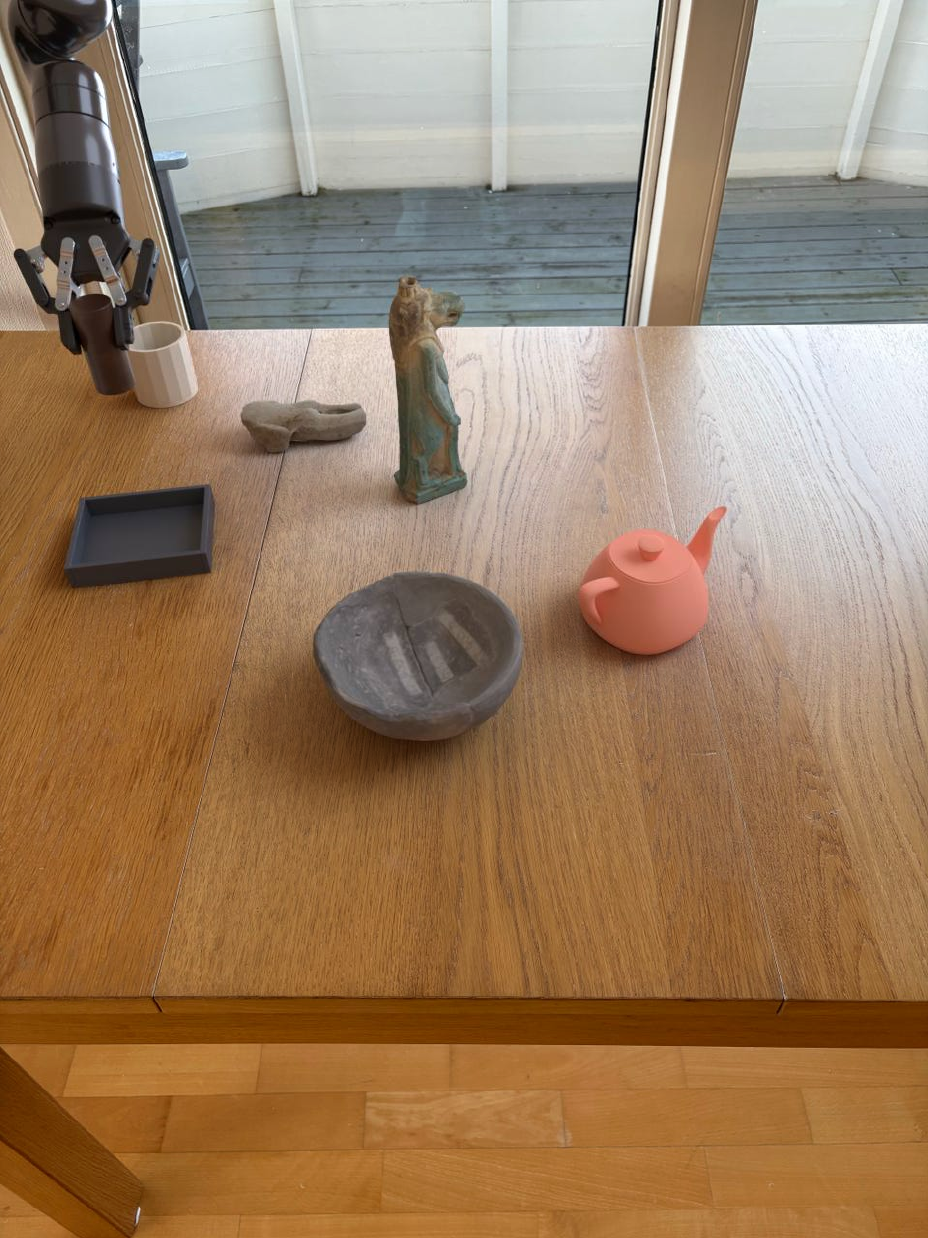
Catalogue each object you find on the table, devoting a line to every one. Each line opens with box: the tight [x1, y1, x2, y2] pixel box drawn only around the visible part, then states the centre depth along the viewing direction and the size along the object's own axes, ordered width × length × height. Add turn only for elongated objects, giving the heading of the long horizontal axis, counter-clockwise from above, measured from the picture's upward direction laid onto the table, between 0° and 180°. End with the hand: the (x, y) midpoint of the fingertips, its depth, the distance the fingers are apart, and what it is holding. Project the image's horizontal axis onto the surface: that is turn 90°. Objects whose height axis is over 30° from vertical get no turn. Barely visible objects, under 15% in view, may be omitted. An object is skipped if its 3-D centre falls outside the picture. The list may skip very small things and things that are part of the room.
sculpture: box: [240, 399, 367, 453], centre depth 116 cm, size 7×5×15 cm
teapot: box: [577, 505, 728, 656], centre depth 90 cm, size 12×18×10 cm
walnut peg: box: [69, 293, 136, 396], centre depth 95 cm, size 4×4×9 cm
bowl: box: [312, 571, 524, 742], centre depth 83 cm, size 18×18×8 cm
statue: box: [388, 275, 468, 505], centre depth 101 cm, size 7×8×25 cm
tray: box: [63, 483, 216, 589], centre depth 102 cm, size 14×12×3 cm
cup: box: [127, 320, 199, 409], centre depth 123 cm, size 8×8×8 cm
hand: (99, 349), depth 93 cm, fingers closed on walnut peg, 4 cm apart
